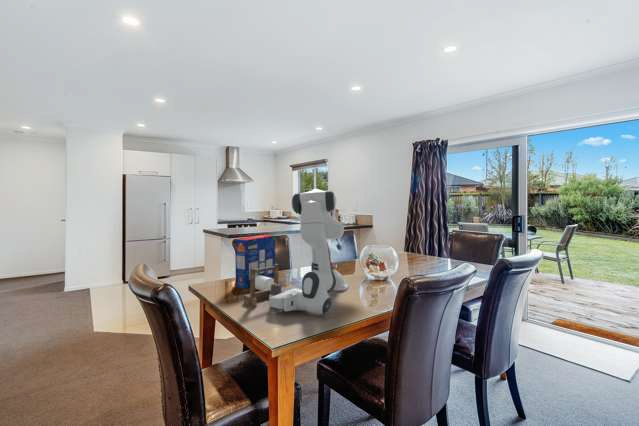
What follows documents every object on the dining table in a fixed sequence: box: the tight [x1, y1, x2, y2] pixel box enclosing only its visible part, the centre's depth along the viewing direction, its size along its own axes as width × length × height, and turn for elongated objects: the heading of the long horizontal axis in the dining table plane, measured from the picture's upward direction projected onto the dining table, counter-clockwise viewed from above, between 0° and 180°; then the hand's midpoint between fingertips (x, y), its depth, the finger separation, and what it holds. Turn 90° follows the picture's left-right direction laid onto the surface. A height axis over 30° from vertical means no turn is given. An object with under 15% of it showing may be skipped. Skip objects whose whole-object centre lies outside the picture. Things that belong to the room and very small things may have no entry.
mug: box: [255, 275, 274, 291], centre depth 179 cm, size 12×10×8 cm
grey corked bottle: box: [271, 283, 282, 309], centre depth 152 cm, size 5×5×11 cm
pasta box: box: [234, 234, 276, 290], centre depth 194 cm, size 28×8×28 cm, turn 153°
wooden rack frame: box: [243, 263, 279, 308], centre depth 158 cm, size 8×16×18 cm, turn 136°
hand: (274, 294), depth 152 cm, fingers closed on grey corked bottle, 5 cm apart
